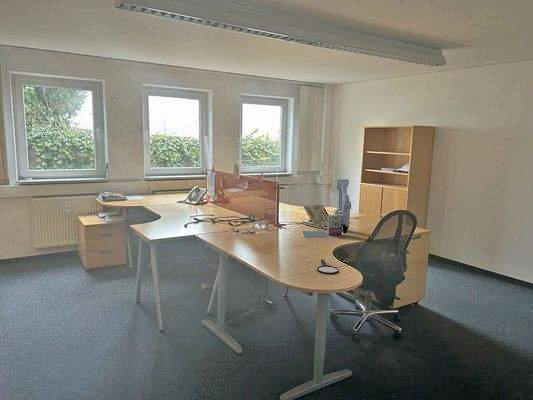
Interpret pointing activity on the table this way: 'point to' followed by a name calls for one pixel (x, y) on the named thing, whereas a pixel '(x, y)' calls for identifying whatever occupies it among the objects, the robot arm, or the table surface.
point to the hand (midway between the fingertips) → (345, 233)
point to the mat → (314, 234)
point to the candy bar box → (334, 225)
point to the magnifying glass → (327, 268)
